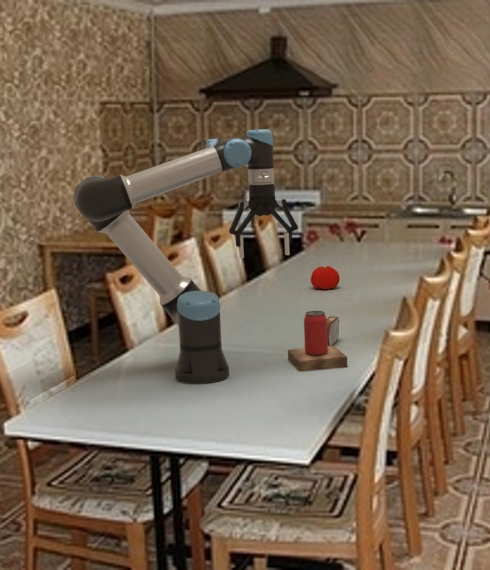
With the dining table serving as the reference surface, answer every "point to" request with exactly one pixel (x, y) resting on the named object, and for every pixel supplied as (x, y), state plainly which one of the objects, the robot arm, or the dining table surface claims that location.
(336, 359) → the podium
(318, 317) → the beer can
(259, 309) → the dining table surface
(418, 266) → the dining table surface
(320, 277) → the tomato
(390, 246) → the dining table surface
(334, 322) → the tin
